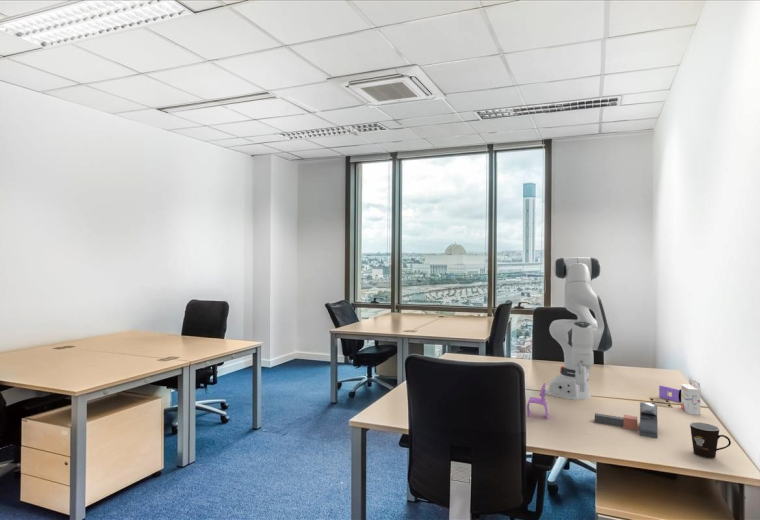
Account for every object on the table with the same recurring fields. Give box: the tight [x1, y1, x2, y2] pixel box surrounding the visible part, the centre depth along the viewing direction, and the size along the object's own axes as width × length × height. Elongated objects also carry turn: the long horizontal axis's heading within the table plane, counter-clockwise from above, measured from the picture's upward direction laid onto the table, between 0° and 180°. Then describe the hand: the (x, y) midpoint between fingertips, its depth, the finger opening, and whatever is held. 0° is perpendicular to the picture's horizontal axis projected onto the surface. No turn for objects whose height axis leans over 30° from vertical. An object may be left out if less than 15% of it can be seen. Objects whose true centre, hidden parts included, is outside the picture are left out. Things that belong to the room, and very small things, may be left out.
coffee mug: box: [689, 421, 732, 459], centre depth 162 cm, size 12×9×10 cm
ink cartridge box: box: [680, 378, 701, 416], centre depth 212 cm, size 9×5×15 cm, turn 168°
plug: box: [594, 412, 638, 431], centre depth 194 cm, size 16×4×4 cm, turn 60°
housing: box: [639, 401, 659, 439], centre depth 188 cm, size 6×17×11 cm, turn 150°
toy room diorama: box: [658, 385, 681, 403], centre depth 231 cm, size 12×12×7 cm
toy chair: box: [526, 382, 550, 420], centre depth 204 cm, size 8×9×15 cm
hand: (582, 391), depth 200 cm, fingers closed
